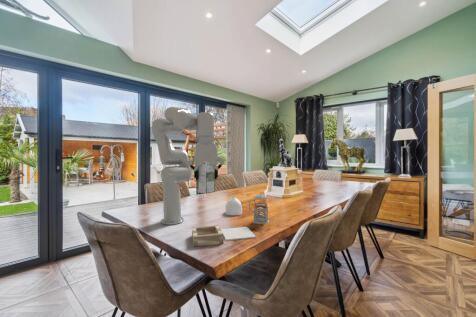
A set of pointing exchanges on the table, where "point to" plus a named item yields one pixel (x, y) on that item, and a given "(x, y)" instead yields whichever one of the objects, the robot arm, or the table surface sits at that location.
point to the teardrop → (233, 207)
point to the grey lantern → (260, 210)
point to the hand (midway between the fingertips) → (206, 179)
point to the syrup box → (206, 178)
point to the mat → (237, 233)
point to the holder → (207, 235)
